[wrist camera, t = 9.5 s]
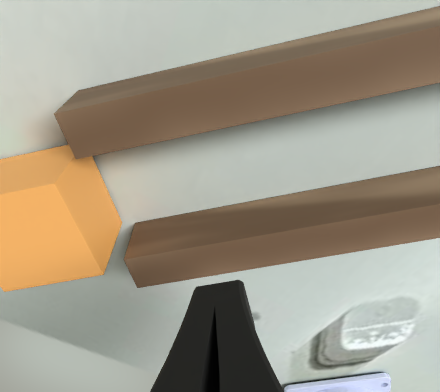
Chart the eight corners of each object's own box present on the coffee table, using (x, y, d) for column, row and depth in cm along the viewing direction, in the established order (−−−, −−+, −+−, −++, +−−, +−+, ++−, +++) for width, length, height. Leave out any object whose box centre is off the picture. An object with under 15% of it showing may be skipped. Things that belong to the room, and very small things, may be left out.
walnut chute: (551, 177, 19) (601, 210, 17) (146, 249, 22) (137, 288, 19) (613, -35, 14) (696, -33, 12) (78, 90, 17) (53, 114, 14)
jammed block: (122, 222, 21) (103, 274, 17) (38, 238, 21) (4, 292, 18) (85, 140, 18) (54, 183, 15) (-10, 161, 19) (-60, 206, 15)
